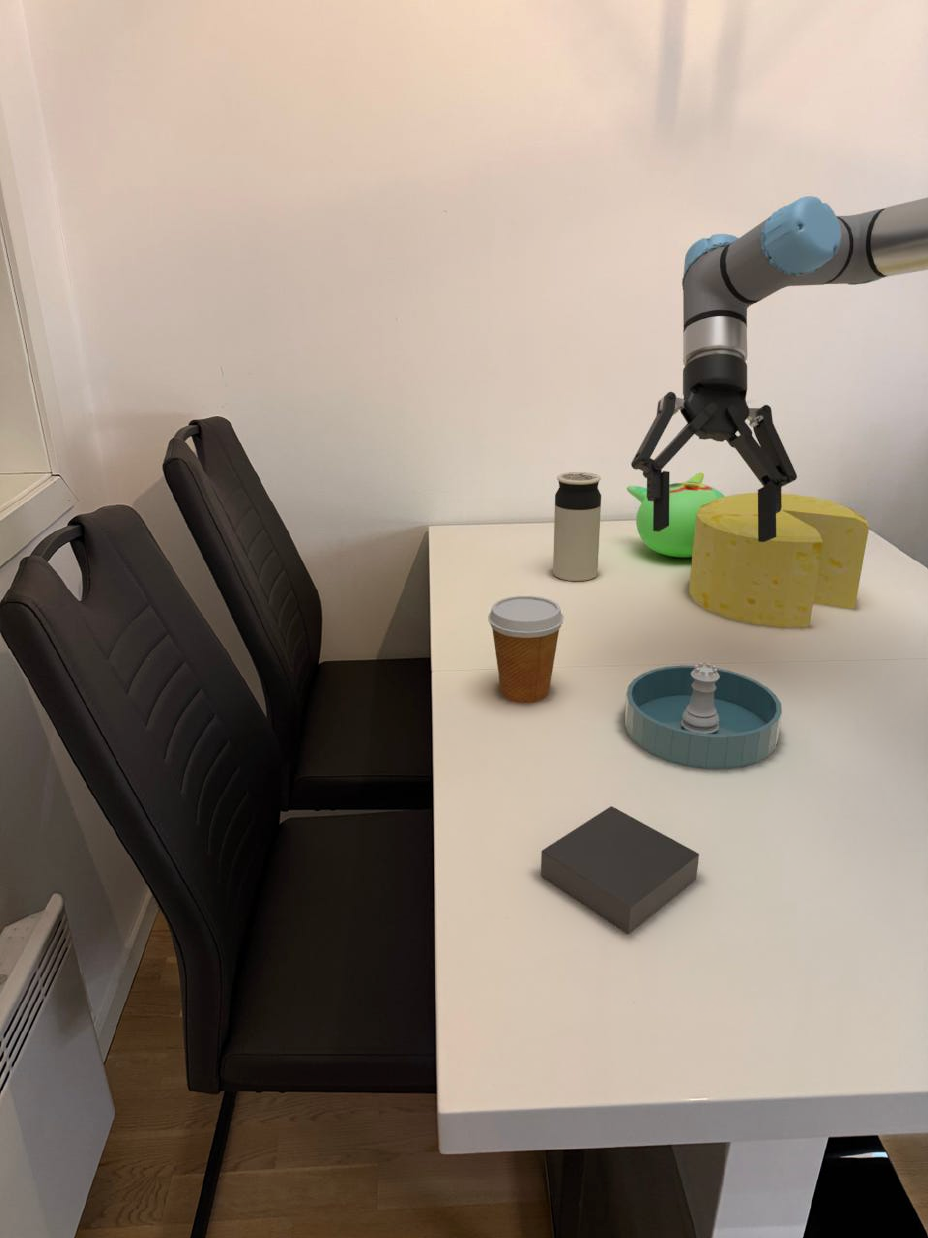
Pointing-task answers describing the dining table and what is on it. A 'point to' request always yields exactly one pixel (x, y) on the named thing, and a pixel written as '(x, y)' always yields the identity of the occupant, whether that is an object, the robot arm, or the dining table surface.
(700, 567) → the cheese
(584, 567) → the travel mug
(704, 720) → the rook chess piece
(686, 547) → the toy bird
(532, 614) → the disposable coffee cup
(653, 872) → the stand
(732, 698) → the tin
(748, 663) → the dining table surface
